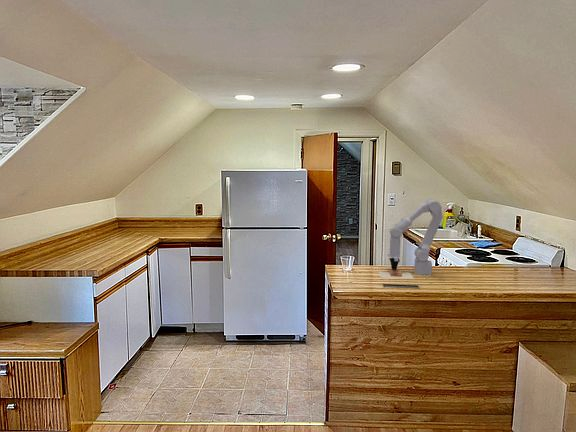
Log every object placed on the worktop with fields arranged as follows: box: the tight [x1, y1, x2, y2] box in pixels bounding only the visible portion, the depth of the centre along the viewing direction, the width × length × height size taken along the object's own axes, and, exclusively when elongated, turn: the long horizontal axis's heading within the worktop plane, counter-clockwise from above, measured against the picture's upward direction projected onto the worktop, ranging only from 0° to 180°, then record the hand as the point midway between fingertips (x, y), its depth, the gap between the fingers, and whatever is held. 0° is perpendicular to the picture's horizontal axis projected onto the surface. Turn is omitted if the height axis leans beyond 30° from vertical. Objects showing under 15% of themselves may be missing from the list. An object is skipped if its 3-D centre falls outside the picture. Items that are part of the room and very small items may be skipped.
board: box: [377, 271, 415, 280], centre depth 236 cm, size 18×13×1 cm
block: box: [388, 268, 403, 277], centre depth 236 cm, size 6×8×2 cm
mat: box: [382, 283, 420, 289], centre depth 222 cm, size 18×14×1 cm
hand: (394, 270), depth 242 cm, fingers closed
